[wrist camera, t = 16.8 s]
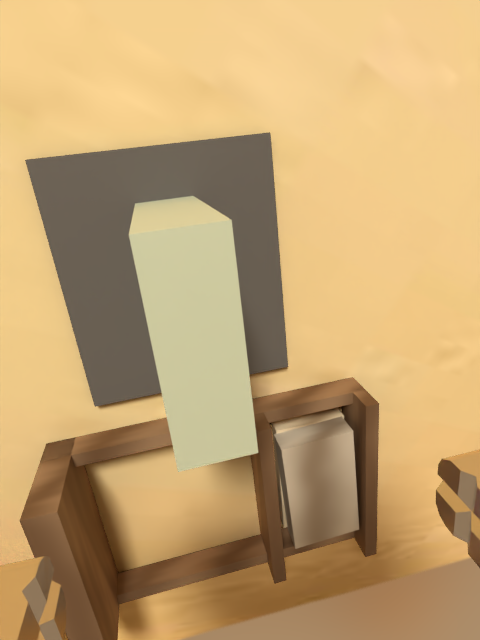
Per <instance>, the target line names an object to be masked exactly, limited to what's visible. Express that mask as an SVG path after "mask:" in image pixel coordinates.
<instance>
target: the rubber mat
mask: <svg viewBox="0 0 480 640" xmlns="http://www.w3.org/2000/svg"><path fill="white" fill-rule="evenodd" d="M25 161H26V164H27V168H28V171H29V175H30V178H31V182H32V185H33V189H34V193H35V196H36V200H37V203H38V207H39V210H40V214H41V217H42V221H43V224H44V228H45V231H46V235H47V239H48V242H49V246H50V249H51V253H52V256H53V260H54V263H55V267H56V270H57V274H58V278H59V281H60V285H61V288H62V292H63V295H64V299H65V302H66V306H67V309H68V313H69V316H70V320H71V324H72V327H73V331H74V334H75V338H76V341H77V345H78V348H79V352H80V355H81V359H82V363H83V366H84V370H85V373H86V377H87V380H88V384H89V387H90V391H91V394H92V398H93V401H94V405H95V406H100V405H105V404H110V403H115V402H120V401H124V400H129V399H134V398H139V397H144V396H149V395H153V394H158V393H162V392H161V387H160V382H159V378H158V373H157V368H156V363H155V358H154V354H153V349H152V344H151V339H150V334H149V330H148V325H147V320H146V315H145V310H144V306H143V301H142V296H141V291H140V286H139V282H138V277H137V272H136V267H135V263H134V258H133V253H132V248H131V243H130V239H129V231H130V226H131V221H132V216H133V211H134V206H135V203H143V202H150V201H158V200H165V199H173V198H180V197H188V196H194V197H196V198H197V199H199V200H201V201H202V202H204V203H205V204H207V205H209V206H210V207H212V208H213V209H215V210H217V211H218V212H220V213H221V214H223V215H225V216H226V217H228V218H229V219H231V220H232V228H233V237H234V245H235V254H236V263H237V271H238V280H239V289H240V297H241V306H242V315H243V324H244V332H245V341H246V350H247V358H248V367H249V375H250V374H255V373H260V372H265V371H270V370H274V369H279V368H284V367H288V361H287V348H286V334H285V321H284V308H283V294H282V281H281V268H280V255H279V241H278V228H277V215H276V202H275V188H274V175H273V162H272V148H271V135H270V133H262V134H253V135H244V136H235V137H226V138H217V139H208V140H199V141H190V142H181V143H172V144H164V145H155V146H146V147H137V148H128V149H119V150H110V151H101V152H92V153H83V154H74V155H65V156H56V157H47V158H38V159H29V160H25Z"/></svg>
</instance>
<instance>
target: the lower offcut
mask: <svg viewBox="0 0 480 640" xmlns="http://www.w3.org/2000/svg"><path fill="white" fill-rule="evenodd" d="M341 416H342V417H343V419H344V415H343V414H342V413H341V411H340V410H339V409H338V408H337V407H336V408H332V409H328V410H323V411H319V412H314V413H310V414H306V415H301V416H297V417H292V418H288V419H284V420H279V421H275V422H272V435H273V447H274V459H275V470H276V480H277V491H278V501H279V511H280V519H281V522H282V524H283V527H284V528H286V527H287V520H286V513H285V507H284V500H283V493H282V486H281V479H280V473H279V466H278V459H277V452H276V446H275V439H274V434H277V433H281V432H285V431H289V430H292V429H296V428H300V427H304V426H307V425H311V424H315V423H319V422H322V421H326V420H330V419H334V418H337V417H341Z"/></svg>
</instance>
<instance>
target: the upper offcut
mask: <svg viewBox="0 0 480 640" xmlns="http://www.w3.org/2000/svg"><path fill="white" fill-rule="evenodd" d="M274 439H275V446H276V452H277V459H278V466H279V473H280V479H281V486H282V493H283V500H284V507H285V513H286V520H287V527H288V531H289V534H290V536H291V539H292V541H293V544H294V546H295V549H297V548H300V547H304V546H307V545H310V544H313V543H317V542H320V541H323V540H326V539H330V538H333V537H336V536H339V535H343V534H346V533H349V532H353V531H356V530H359V517H358V501H357V484H356V468H355V452H354V436H353V430H352V429H351V428H350V426H349V425H348V424H347V422H346V421H345V420H344V419H343V417H342V416H341V417H337V418H334V419H330V420H326V421H322V422H319V423H315V424H311V425H307V426H304V427H300V428H296V429H292V430H289V431H285V432H281V433H277V434H274Z"/></svg>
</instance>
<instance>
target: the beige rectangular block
mask: <svg viewBox="0 0 480 640" xmlns="http://www.w3.org/2000/svg"><path fill="white" fill-rule="evenodd" d="M129 239H130V243H131V248H132V253H133V258H134V263H135V267H136V272H137V277H138V282H139V286H140V291H141V296H142V301H143V306H144V310H145V315H146V320H147V325H148V330H149V334H150V339H151V344H152V349H153V354H154V358H155V363H156V368H157V373H158V378H159V382H160V387H161V392H162V397H163V402H164V406H165V411H166V416H167V421H168V426H169V430H170V435H171V440H172V445H173V450H174V454H175V459H176V464H177V469H178V472H180V471H185V470H189V469H193V468H197V467H201V466H206V465H210V464H214V463H218V462H222V461H227V460H231V459H235V458H239V457H243V456H248V455H252V454H256V453H258V445H257V437H256V428H255V419H254V410H253V402H252V393H251V384H250V376H249V367H248V358H247V350H246V341H245V332H244V324H243V315H242V306H241V297H240V289H239V280H238V271H237V263H236V254H235V245H234V237H233V228H232V220H231V219H229V218H228V217H226V216H225V215H223V214H221V213H220V212H218V211H217V210H215V209H213V208H212V207H210V206H209V205H207V204H205V203H204V202H202V201H201V200H199V199H197V198H196V197H194V196H188V197H180V198H173V199H165V200H158V201H150V202H143V203H135V206H134V211H133V216H132V221H131V226H130V231H129Z"/></svg>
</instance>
